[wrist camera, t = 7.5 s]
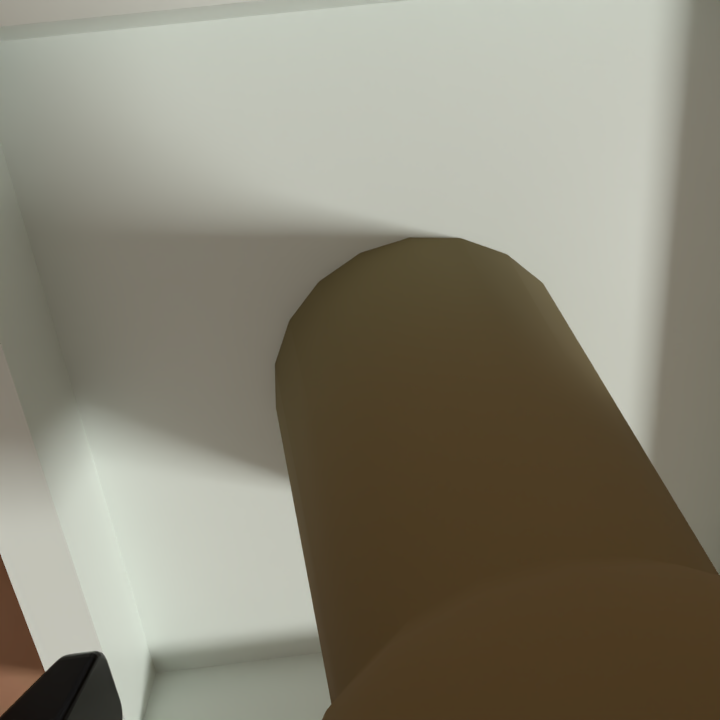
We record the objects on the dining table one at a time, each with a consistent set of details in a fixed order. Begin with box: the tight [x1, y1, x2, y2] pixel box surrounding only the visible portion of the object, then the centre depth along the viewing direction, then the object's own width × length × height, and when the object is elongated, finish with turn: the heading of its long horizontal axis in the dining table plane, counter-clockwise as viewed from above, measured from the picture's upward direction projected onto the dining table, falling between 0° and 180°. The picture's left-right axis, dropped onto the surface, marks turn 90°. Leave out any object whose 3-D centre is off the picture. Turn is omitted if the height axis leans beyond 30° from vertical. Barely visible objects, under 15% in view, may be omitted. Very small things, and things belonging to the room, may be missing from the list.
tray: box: [0, 0, 720, 720], centre depth 13 cm, size 16×16×3 cm
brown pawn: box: [275, 237, 720, 720], centre depth 8 cm, size 6×6×11 cm
